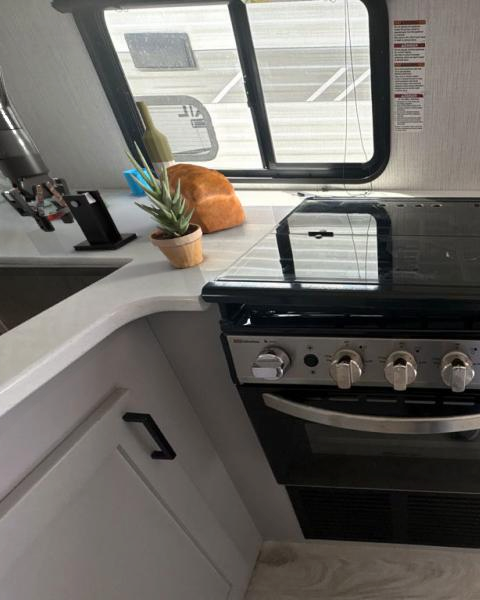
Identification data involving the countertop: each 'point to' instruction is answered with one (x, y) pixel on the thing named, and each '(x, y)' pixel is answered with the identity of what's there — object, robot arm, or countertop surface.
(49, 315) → the countertop surface
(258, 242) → the countertop surface
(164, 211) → the potted plant
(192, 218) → the bread
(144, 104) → the bottle
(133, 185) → the mug
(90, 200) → the lever
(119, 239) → the bracket
